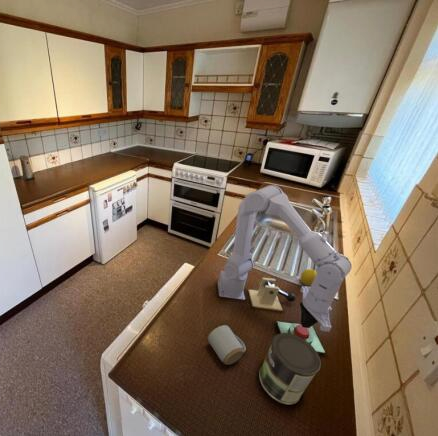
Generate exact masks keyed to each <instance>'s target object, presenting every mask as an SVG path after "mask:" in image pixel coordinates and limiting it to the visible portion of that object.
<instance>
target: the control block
mask: <svg viewBox="0 0 438 436" xmlns="http://www.w3.org/2000/svg"><path fill="white" fill-rule="evenodd" d="M275 324H276V327H277V330H278V332H279V334H280V333H290V334H294V335H296V334H295V328H296V326H297V325H301V323H291V322H283V321H278V320H277V321H276V323H275ZM307 329H308V330H309V335H308V337H307V338H305V339H304V340H306V341H307V342H308V343H309V344H310V345H311V346H312V347H313V348H314V349H315V350H316V352H317V353H318V355H319V354H320V355H325V354H326V351H325V349H324V347H323V345H322V343H321V341H320V339H319V337H318V335H317V332H316V331H315V329H314V327H313V325H312V326H311V327H310V328H307Z"/></svg>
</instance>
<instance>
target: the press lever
mask: <svg viewBox="0 0 438 436" xmlns="http://www.w3.org/2000/svg"><path fill="white" fill-rule="evenodd" d="M265 285H267V286H275V287H276V285H275V284H273V283H271V282H269V281H267V282H266V283H265V284H263V286H264V287H265ZM278 294H279V295H280V296H282V297H285V299H286V300H287V301H288V302H290V303H293V302H295V300H296V296H295V294H293V293H291V292H288V293H287V292H285V291H283V290H281V289H279V291H278Z"/></svg>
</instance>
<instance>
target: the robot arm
mask: <svg viewBox="0 0 438 436" xmlns="http://www.w3.org/2000/svg"><path fill="white" fill-rule="evenodd" d="M237 208H238V209H237V217H236V226H235V232H234V241H233V249H232V252H231V254H230V255H229V256H228V258H227V260H226V263H225V264H224V267H223V270H220V272H219V276H218V280H217V289H218V296H219V297H221V298H229V299H235V300H236V299H238V300H243V301H245V300H246V296H245V292H244V289H245V286H246V282H247V279H248V274H249V271H251V270H252V269H253V268H254V265H255V264H254V260H253V254H252V253H251V246H252V240H253V234H254V227H255V221H256V214H257V213H261V212H264V211H265V210H266V211H265V212H264V214H265V215H268V216H269V215H270V216H275V217H276V216H277V217H279V218H280V219H281V221H282V222H284V224H285V225H286V226H287V227H288V228H289V229H290V230H291V231H292V232H293V233H294V234H295V235H296V236H297V237H298V246H300V248H301V249H302V250H303V252H304V254H306V255H307V257H309V259H310V260H311V261H312V262H313V264H314V265H315V266H316V268H315V271H316V272H317V275H316V276H315V278H314V280H313V282H312V285H311V286H303V285H302V286H301V287H300V293H301V294H302V301H301V302H300V303H299V308H300V324H301V325H302V327H305V328H310V327H311V326H312V327H313V326H314V325H316V324H317V323H319V325H320V326H319V330H320V331H321V332H326V333H329V332H330V331H331V329H332V324H331V320H330V312H331V311H332V310H333V308H332V307H331V305H332V303H333V301H334V299H335V297H336V296H337V294H338V292H339V291H340V289H341V285H342V284H343V282H344V279H345V278H346V277H347V275H349V273H350V272H351V270H352V268H353V267H352V262H351V261H350V259H349V258H348V257H347V256H346V255H344V254H342V253H339V252H337V250H335V249H334V248H333V247H332V246H331V244H329V242H328V238H327V237H326V236H325V235H322V234H321V233H320V232H318V231H313V230H311V228H310V227H309V226H308V225H307V224H306V222H305V220H304V219H303V218H302V217H301V216H300V214H299V213H298V211H297V210H296V209H295V208H294V207H293V205H292V203H291V202H290V200H289V197H288V195H287V194H286V193H285V192H283V190H282V188H281V187H279V186H278V185H275V184H269V185H266V186H264V187H262V188H259V189H257V190H254V191H251V192H249V193H247V194H245V196H244V199H242V201H241V202H240V204H239V205H238V207H237Z"/></svg>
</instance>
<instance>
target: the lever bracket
mask: <svg viewBox="0 0 438 436" xmlns="http://www.w3.org/2000/svg"><path fill="white" fill-rule="evenodd" d="M267 281H269V282H271V283H273V284H274V285H275V284H276V281H277V280H276V278H271V277H261V279H260V284H259V287H258V289H257V290H256V289H248V294H249V299H250V302H251V306H252V308H256V309H263V310H264V309H265V310H271V311H278V312H283V307H282V305H281V302H280V299H279V297H278V294H279V293H278V291H279V290H280V287H279V286H276V285H275V286H267V285H265V287H264V286H263V284H265V283H266V282H267Z"/></svg>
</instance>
